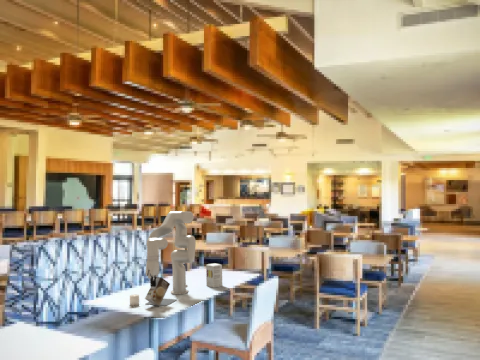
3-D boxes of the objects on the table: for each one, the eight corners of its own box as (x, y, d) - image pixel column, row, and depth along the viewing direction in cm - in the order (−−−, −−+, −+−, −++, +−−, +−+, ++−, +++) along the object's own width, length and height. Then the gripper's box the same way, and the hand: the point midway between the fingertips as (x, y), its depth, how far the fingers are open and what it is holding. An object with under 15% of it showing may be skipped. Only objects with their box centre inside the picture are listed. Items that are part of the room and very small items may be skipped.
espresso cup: (133, 303, 277) (133, 294, 277) (140, 303, 275) (140, 294, 275) (128, 305, 271) (127, 296, 272) (135, 306, 269) (135, 296, 270)
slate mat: (156, 298, 287) (156, 298, 287) (177, 300, 282) (177, 299, 282) (145, 304, 273) (145, 303, 273) (166, 305, 268) (166, 305, 268)
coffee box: (150, 299, 262) (161, 276, 271) (144, 298, 266) (155, 276, 275) (160, 305, 267) (170, 283, 276) (153, 305, 271) (164, 283, 280)
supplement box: (206, 285, 322) (205, 264, 323) (215, 284, 329) (214, 262, 329) (213, 287, 315) (213, 265, 316) (222, 285, 321) (222, 264, 322)
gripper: (153, 256, 277) (154, 283, 276) (141, 259, 263) (141, 288, 262) (163, 256, 275) (163, 284, 274) (152, 259, 261) (152, 289, 260)
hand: (153, 286), depth 268 cm, fingers closed
